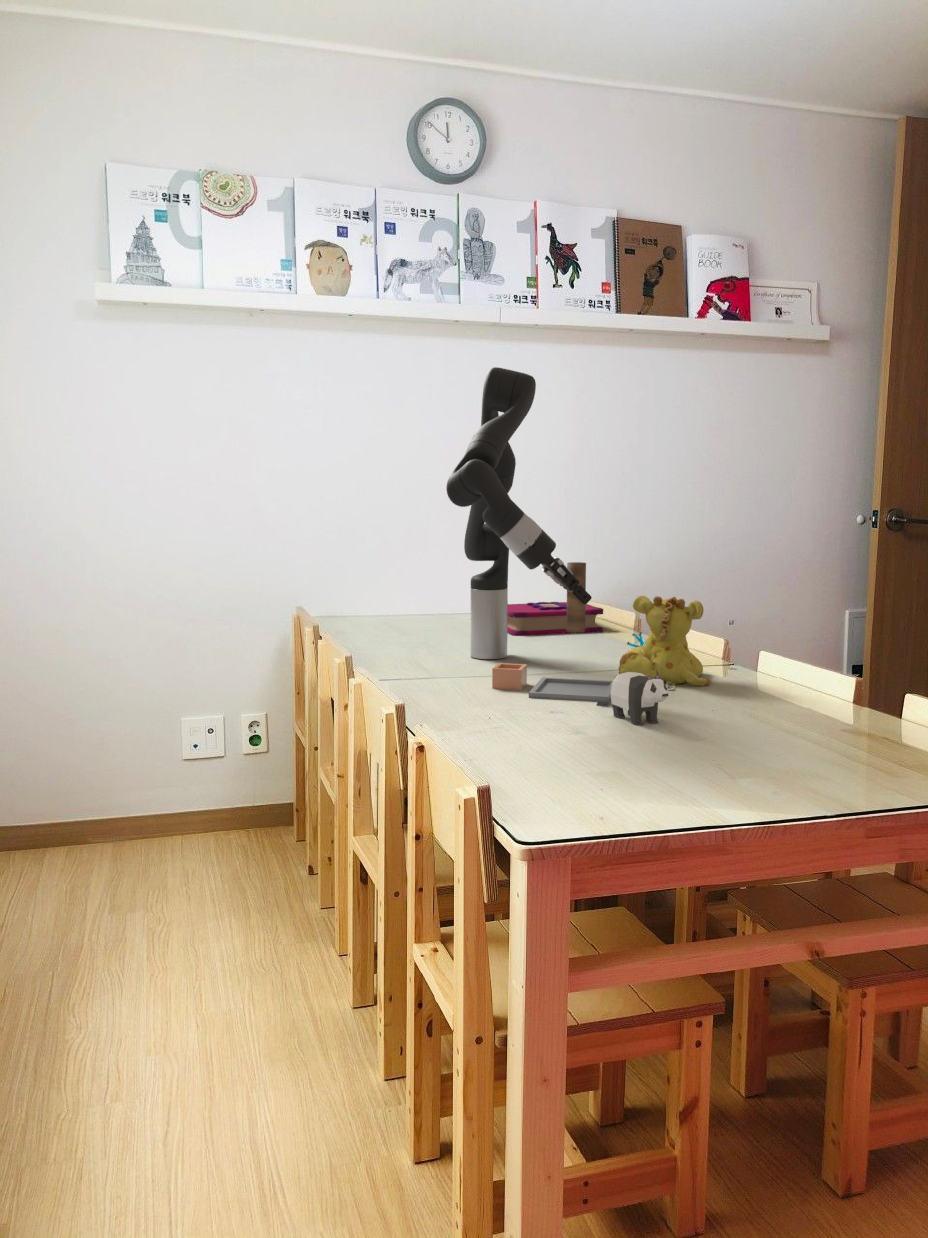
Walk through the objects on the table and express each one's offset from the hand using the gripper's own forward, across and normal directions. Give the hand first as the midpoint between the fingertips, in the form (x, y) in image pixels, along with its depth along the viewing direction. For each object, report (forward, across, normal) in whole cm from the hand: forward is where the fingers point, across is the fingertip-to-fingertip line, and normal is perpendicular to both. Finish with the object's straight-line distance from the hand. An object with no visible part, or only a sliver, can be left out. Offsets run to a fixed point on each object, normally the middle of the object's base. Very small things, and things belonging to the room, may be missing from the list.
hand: (585, 599), depth 208 cm
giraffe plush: (+30, -16, +1) cm, 34 cm away
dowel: (+3, 0, -6) cm, 7 cm away
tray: (+13, 0, -16) cm, 20 cm away
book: (+21, -91, -8) cm, 93 cm away
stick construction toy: (+32, -40, +4) cm, 51 cm away
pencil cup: (+4, -7, -24) cm, 26 cm away
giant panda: (+18, +23, -11) cm, 31 cm away
